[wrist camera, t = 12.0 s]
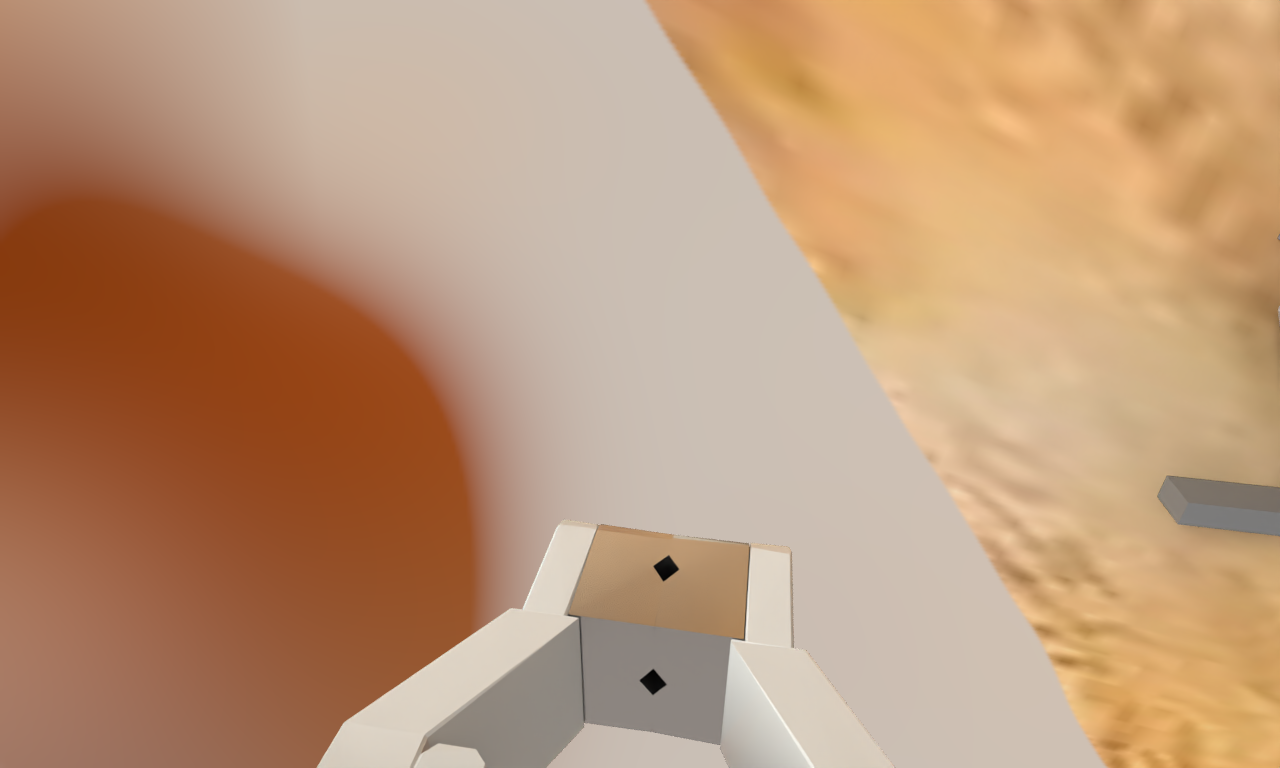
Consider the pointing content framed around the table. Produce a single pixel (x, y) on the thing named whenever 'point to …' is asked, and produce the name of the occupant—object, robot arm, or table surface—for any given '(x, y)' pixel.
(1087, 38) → the table surface
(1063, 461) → the table surface
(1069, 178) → the table surface
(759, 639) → the robot arm
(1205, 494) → the frame
